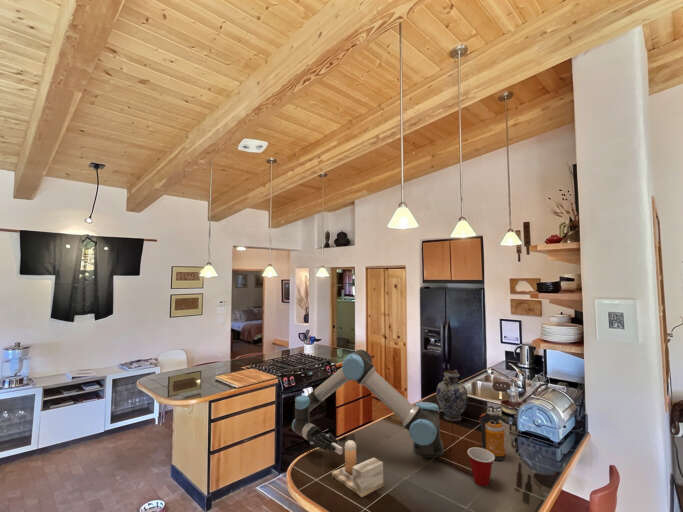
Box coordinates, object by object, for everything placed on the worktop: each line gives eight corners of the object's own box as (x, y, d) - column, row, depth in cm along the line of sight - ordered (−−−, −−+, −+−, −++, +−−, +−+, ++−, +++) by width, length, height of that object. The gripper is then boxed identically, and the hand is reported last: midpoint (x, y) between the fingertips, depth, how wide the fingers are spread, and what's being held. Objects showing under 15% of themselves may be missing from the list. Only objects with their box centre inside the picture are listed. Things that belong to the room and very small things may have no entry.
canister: (507, 462, 164) (506, 418, 166) (482, 460, 166) (481, 416, 168) (503, 453, 173) (501, 411, 174) (479, 451, 175) (477, 409, 177)
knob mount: (331, 475, 155) (331, 453, 156) (352, 466, 163) (352, 445, 163) (361, 497, 140) (361, 472, 140) (383, 485, 147) (382, 462, 148)
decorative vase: (443, 409, 231) (442, 365, 233) (472, 415, 220) (471, 370, 222) (431, 420, 214) (430, 373, 215) (462, 427, 203) (461, 378, 204)
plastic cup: (488, 493, 141) (487, 462, 142) (463, 482, 149) (462, 453, 150) (500, 482, 148) (499, 453, 149) (476, 472, 156) (474, 444, 157)
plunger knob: (342, 472, 155) (342, 440, 156) (351, 468, 158) (351, 436, 159) (350, 477, 151) (349, 444, 152) (359, 473, 154) (358, 441, 155)
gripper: (323, 437, 182) (352, 455, 164) (301, 445, 174) (329, 464, 156) (322, 422, 183) (352, 438, 164) (301, 429, 175) (329, 447, 156)
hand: (341, 451), depth 160 cm, fingers closed
